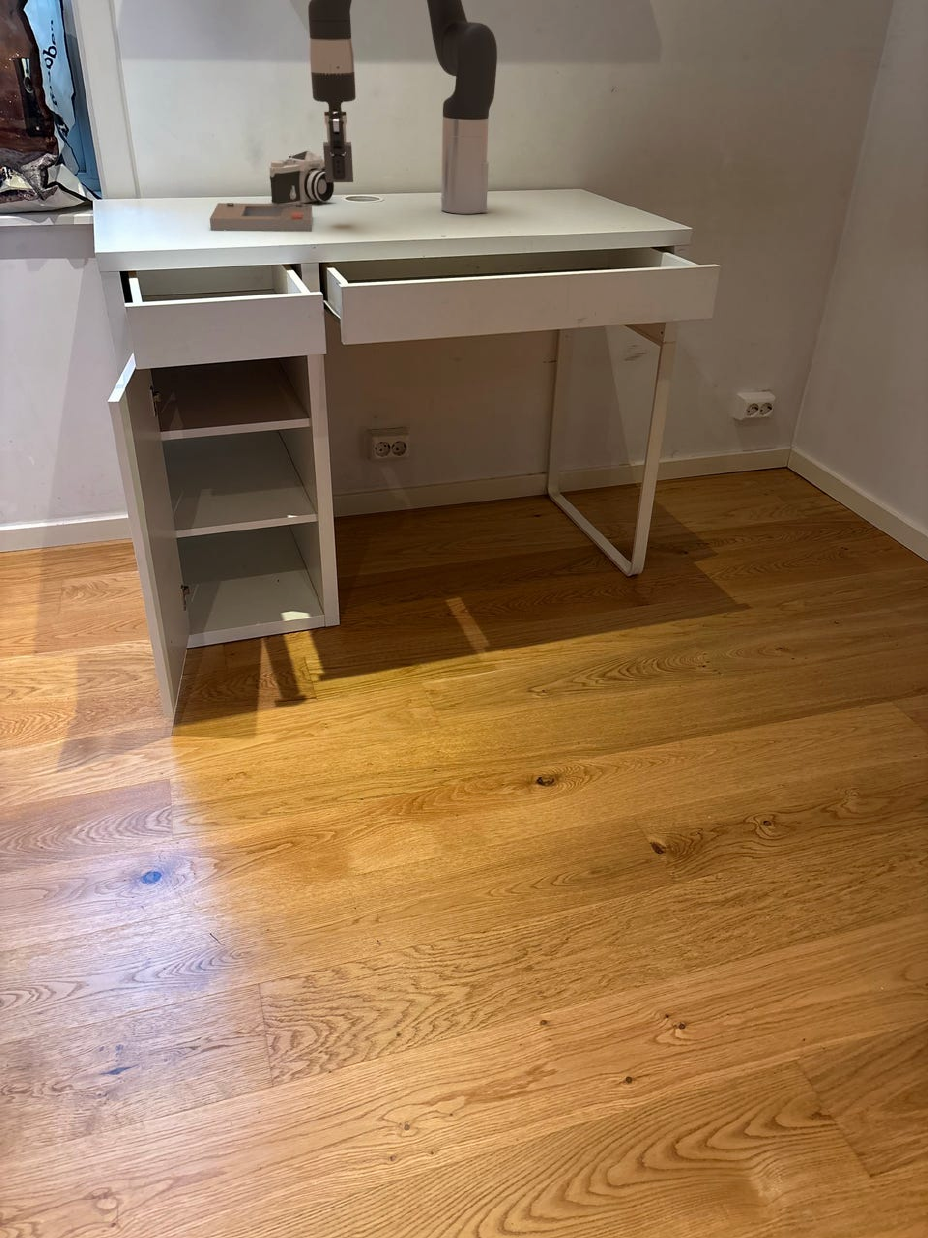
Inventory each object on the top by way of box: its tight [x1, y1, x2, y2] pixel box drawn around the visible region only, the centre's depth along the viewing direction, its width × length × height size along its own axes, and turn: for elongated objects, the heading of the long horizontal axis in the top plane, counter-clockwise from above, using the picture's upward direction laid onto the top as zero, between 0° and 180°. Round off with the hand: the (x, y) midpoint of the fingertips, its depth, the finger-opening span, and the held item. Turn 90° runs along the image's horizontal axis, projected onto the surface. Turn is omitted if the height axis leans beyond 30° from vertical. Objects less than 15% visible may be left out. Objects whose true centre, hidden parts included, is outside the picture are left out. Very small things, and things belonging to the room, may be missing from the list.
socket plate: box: [209, 202, 314, 233], centre depth 176 cm, size 18×15×3 cm
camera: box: [268, 149, 335, 204], centre depth 195 cm, size 16×9×10 cm, turn 145°
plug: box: [322, 141, 354, 183], centre depth 171 cm, size 5×4×8 cm
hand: (339, 175), depth 172 cm, fingers closed on plug, 4 cm apart
